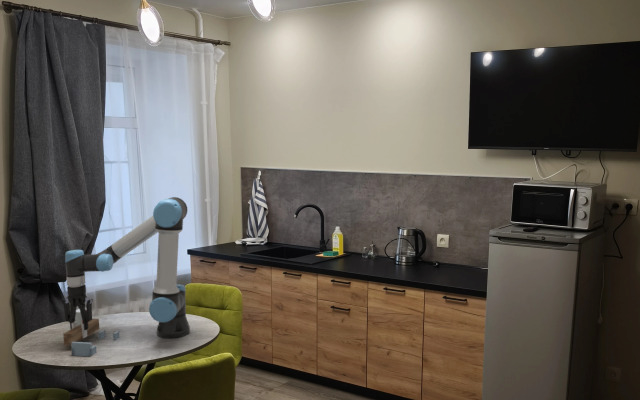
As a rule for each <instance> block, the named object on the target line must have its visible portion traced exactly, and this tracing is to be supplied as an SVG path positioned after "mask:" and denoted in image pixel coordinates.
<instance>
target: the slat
mask: <svg viewBox="0 0 640 400" xmlns="http://www.w3.org/2000/svg"><path fill="white" fill-rule="evenodd" d="M99 330H100V319H99V318H92V320H91V321H89V322H88V329H87V336H86V337H85V338H82V325H81V324H80V325H78V326H77V327H75V328H73V329H70V330H68V331H66V332H63V334H62V336H63V346H71V343H72V342H82V340H84V339H86V338H87V337H90V335H92V334H94V333H95V332H97V331H99Z"/></svg>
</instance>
